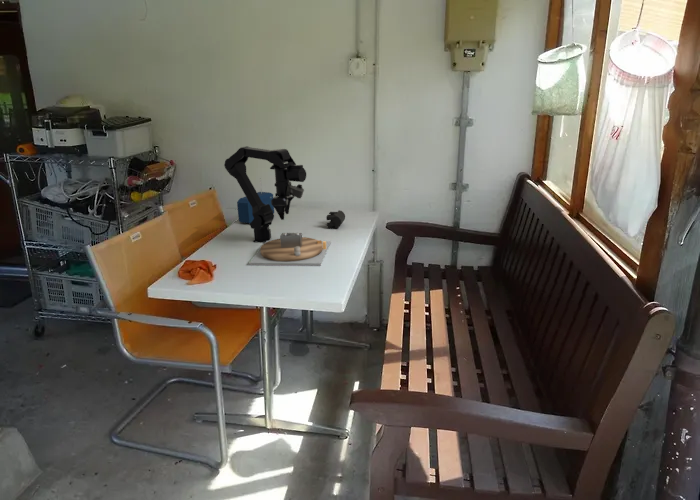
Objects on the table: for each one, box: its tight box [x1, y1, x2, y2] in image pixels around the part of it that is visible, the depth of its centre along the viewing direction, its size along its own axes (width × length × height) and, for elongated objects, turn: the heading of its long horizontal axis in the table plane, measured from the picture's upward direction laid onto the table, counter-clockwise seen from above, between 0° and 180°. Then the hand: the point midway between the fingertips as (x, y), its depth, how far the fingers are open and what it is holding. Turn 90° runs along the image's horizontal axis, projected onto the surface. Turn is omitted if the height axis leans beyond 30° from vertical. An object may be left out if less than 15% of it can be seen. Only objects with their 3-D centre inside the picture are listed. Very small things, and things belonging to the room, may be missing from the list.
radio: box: [236, 178, 275, 225], centre depth 271 cm, size 21×9×20 cm, turn 152°
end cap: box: [325, 209, 346, 230], centre depth 256 cm, size 10×7×7 cm
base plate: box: [248, 240, 332, 267], centre depth 220 cm, size 28×28×4 cm
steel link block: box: [279, 232, 303, 248], centre depth 219 cm, size 8×4×5 cm, turn 85°
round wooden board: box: [259, 236, 323, 261], centre depth 220 cm, size 25×25×5 cm
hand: (284, 216), depth 230 cm, fingers open, 9 cm apart
